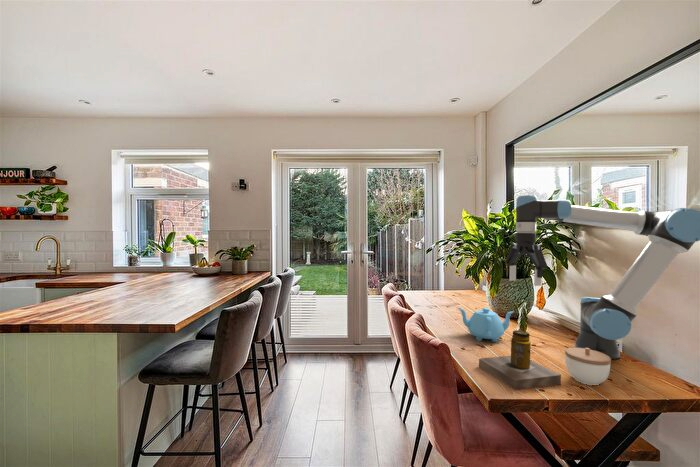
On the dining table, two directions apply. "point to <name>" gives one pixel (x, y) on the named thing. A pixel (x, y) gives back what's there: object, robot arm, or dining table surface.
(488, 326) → the teapot
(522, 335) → the condiment
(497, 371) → the grey flat square piece
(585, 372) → the lidded bowl
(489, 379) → the dining table surface
